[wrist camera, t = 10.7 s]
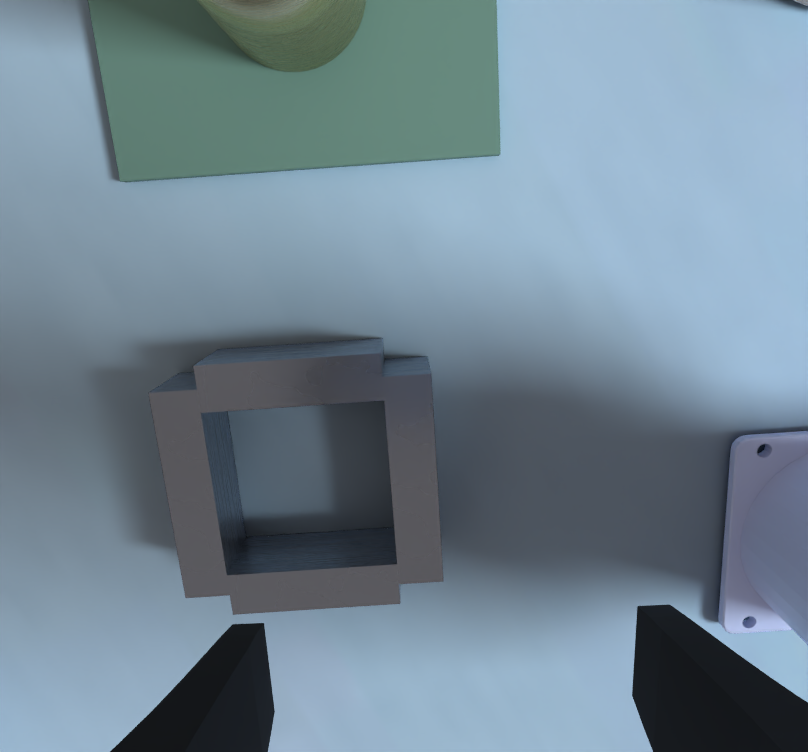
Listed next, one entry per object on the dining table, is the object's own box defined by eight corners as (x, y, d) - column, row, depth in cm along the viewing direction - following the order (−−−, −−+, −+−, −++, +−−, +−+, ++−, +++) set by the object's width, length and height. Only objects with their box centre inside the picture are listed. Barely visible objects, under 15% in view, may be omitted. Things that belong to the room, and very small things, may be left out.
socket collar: (426, 335, 20) (429, 349, 18) (439, 560, 22) (444, 600, 20) (174, 352, 20) (144, 369, 18) (211, 575, 22) (189, 617, 20)
